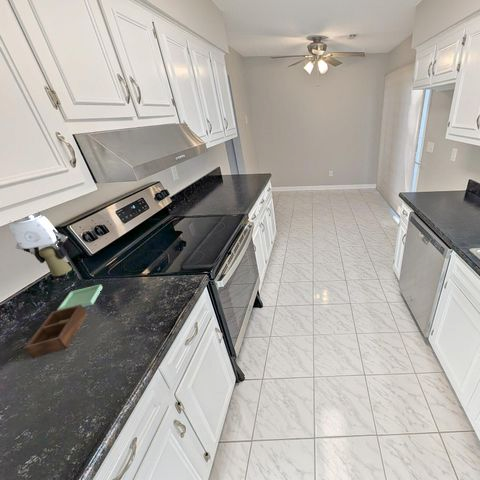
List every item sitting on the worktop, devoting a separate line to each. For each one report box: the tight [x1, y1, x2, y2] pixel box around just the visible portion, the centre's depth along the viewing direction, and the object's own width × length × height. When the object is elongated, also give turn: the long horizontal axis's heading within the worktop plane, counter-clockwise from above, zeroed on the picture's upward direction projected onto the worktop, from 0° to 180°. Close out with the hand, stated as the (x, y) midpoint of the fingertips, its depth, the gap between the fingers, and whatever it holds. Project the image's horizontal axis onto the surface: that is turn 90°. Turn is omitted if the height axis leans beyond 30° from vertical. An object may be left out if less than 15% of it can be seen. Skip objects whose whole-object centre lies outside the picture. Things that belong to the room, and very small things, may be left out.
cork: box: [39, 245, 73, 277], centre depth 97 cm, size 6×6×11 cm
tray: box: [56, 283, 103, 311], centre depth 107 cm, size 11×12×2 cm
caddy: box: [24, 305, 88, 359], centre depth 90 cm, size 9×17×5 cm, turn 22°
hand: (53, 258), depth 97 cm, fingers closed on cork, 5 cm apart
